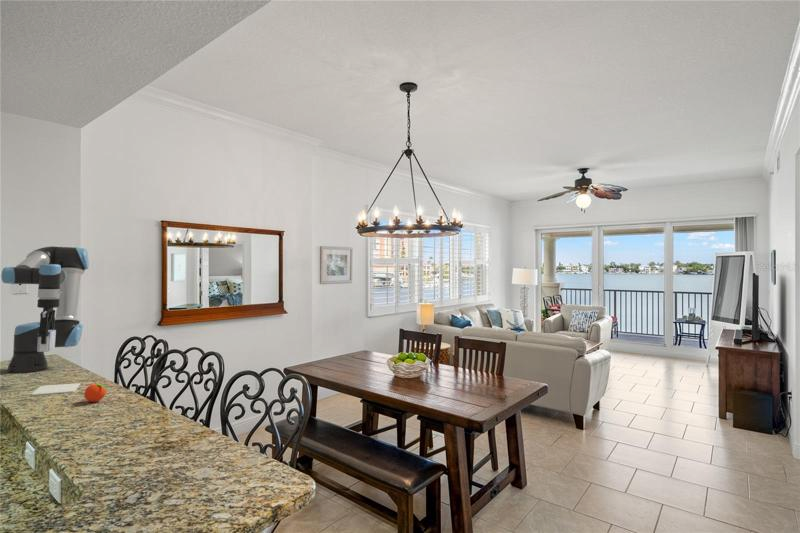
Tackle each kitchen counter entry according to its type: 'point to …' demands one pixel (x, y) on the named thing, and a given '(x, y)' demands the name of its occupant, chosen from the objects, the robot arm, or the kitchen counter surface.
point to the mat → (56, 389)
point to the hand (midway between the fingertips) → (46, 349)
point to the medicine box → (50, 340)
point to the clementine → (95, 392)
